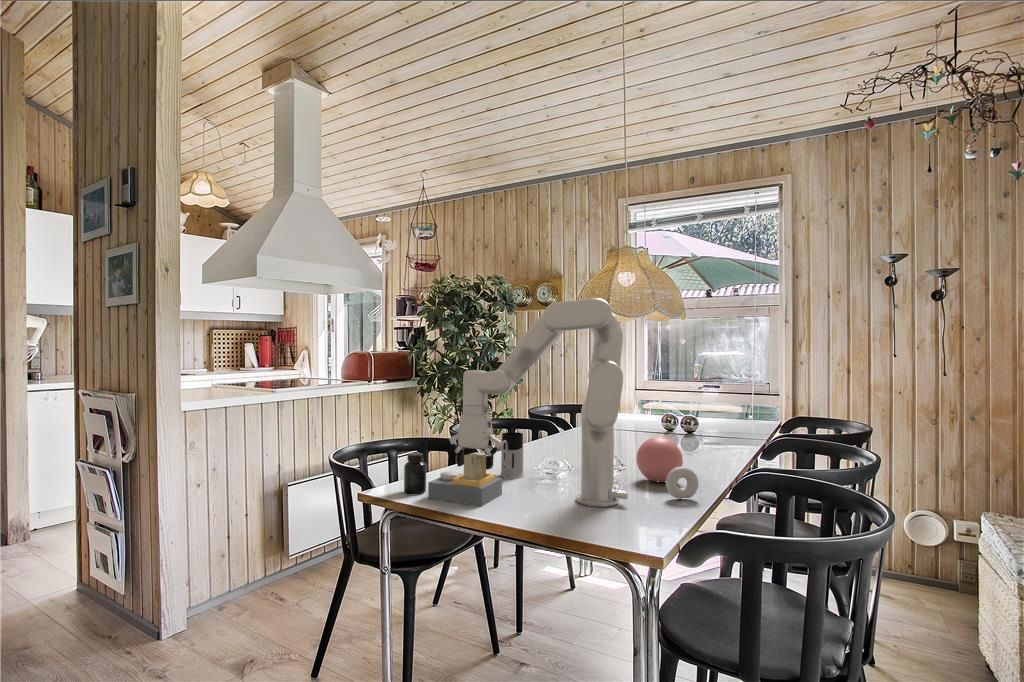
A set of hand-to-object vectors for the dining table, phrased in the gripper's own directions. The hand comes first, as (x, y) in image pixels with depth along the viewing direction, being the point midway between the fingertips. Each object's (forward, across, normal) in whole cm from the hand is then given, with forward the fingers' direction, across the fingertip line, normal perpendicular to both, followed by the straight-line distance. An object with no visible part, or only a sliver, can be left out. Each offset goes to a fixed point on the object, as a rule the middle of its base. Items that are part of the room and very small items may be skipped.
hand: (474, 467), depth 165 cm
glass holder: (+10, +1, -29) cm, 31 cm away
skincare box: (+8, 0, 0) cm, 9 cm away
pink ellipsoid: (+10, -48, -47) cm, 68 cm away
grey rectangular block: (+9, +3, 0) cm, 10 cm away
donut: (+10, -58, -25) cm, 64 cm away
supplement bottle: (+10, +20, +2) cm, 22 cm away
